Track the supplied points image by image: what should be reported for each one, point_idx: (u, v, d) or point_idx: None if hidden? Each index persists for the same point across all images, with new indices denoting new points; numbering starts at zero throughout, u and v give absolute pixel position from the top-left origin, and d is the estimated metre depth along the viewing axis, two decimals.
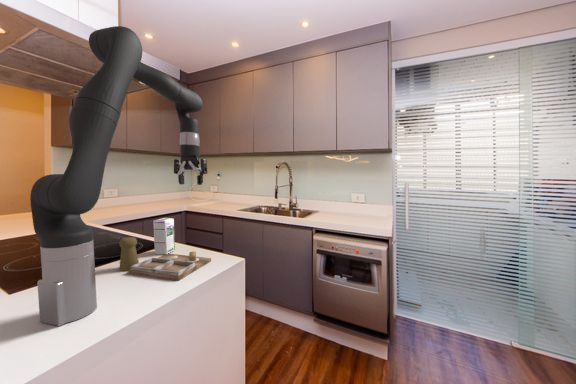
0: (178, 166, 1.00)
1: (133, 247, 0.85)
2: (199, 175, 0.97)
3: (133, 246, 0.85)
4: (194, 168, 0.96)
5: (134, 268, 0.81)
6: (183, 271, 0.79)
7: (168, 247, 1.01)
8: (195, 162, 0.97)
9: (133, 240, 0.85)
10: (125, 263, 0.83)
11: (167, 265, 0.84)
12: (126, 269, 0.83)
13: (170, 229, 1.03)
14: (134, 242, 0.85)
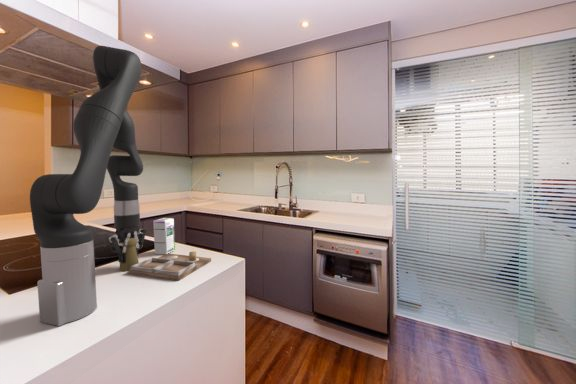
0: None
1: (133, 246, 0.85)
2: (136, 248, 0.88)
3: (133, 246, 0.85)
4: (137, 240, 0.87)
5: (134, 268, 0.81)
6: (183, 271, 0.79)
7: (168, 247, 1.01)
8: (137, 233, 0.88)
9: (133, 240, 0.85)
10: (125, 263, 0.83)
11: (167, 265, 0.84)
12: (126, 269, 0.83)
13: (170, 229, 1.03)
14: (134, 242, 0.85)
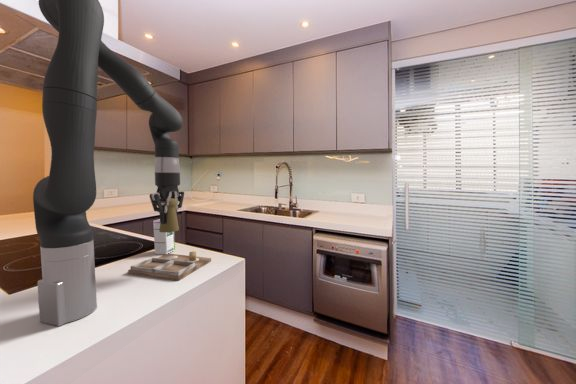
0: None
1: (174, 207, 0.81)
2: (176, 210, 0.84)
3: (174, 207, 0.81)
4: (177, 201, 0.83)
5: (134, 268, 0.81)
6: (183, 271, 0.79)
7: (168, 247, 1.01)
8: (177, 194, 0.83)
9: (174, 200, 0.80)
10: (166, 224, 0.79)
11: (167, 265, 0.84)
12: (167, 230, 0.79)
13: None
14: (175, 202, 0.81)
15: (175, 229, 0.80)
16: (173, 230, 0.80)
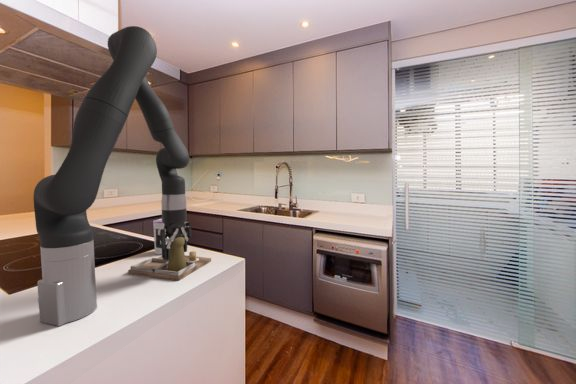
0: None
1: (181, 246, 0.81)
2: (186, 241, 0.86)
3: (181, 246, 0.81)
4: (185, 234, 0.84)
5: (134, 268, 0.81)
6: (183, 271, 0.79)
7: None
8: (184, 227, 0.84)
9: (181, 239, 0.81)
10: (173, 263, 0.80)
11: (167, 265, 0.84)
12: (175, 270, 0.80)
13: None
14: (182, 242, 0.81)
15: (182, 268, 0.81)
16: (180, 269, 0.80)
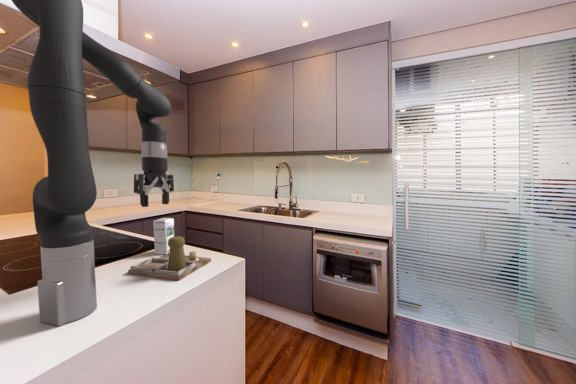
0: None
1: (181, 246, 0.82)
2: (167, 193, 0.85)
3: (181, 246, 0.81)
4: (166, 185, 0.83)
5: (134, 268, 0.81)
6: (183, 271, 0.79)
7: (168, 247, 1.01)
8: (165, 178, 0.83)
9: (182, 239, 0.81)
10: (173, 263, 0.80)
11: (167, 265, 0.84)
12: (175, 270, 0.80)
13: (170, 229, 1.03)
14: (182, 242, 0.81)
15: (182, 268, 0.81)
16: (180, 269, 0.80)
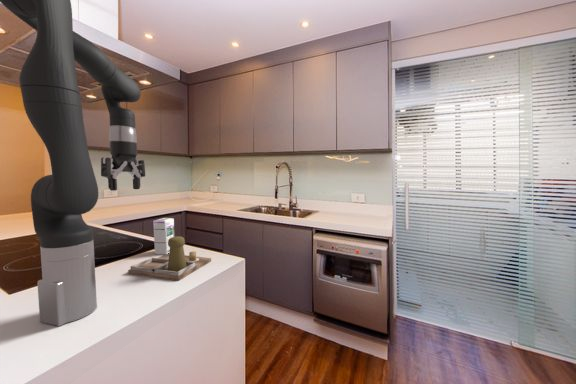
0: None
1: (181, 246, 0.82)
2: (138, 178, 0.86)
3: (181, 246, 0.81)
4: (136, 170, 0.84)
5: (134, 268, 0.81)
6: (183, 271, 0.79)
7: (168, 247, 1.01)
8: (135, 163, 0.84)
9: (182, 239, 0.81)
10: (173, 263, 0.80)
11: (167, 265, 0.84)
12: (175, 270, 0.80)
13: (170, 229, 1.03)
14: (182, 242, 0.81)
15: (182, 268, 0.81)
16: (180, 269, 0.80)
